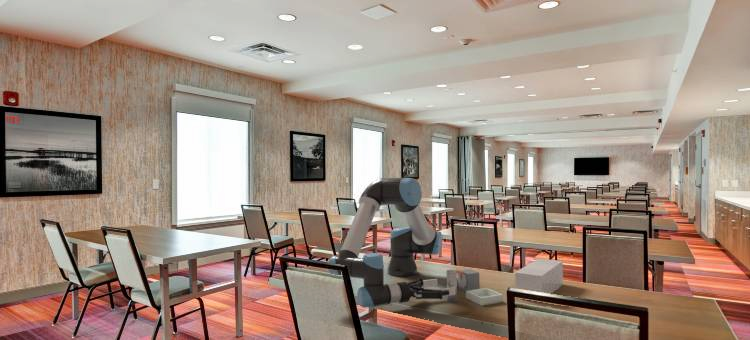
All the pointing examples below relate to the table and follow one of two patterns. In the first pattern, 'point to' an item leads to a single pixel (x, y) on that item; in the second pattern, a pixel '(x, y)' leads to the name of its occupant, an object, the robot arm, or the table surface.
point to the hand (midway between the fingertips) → (445, 286)
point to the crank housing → (468, 280)
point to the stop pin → (452, 284)
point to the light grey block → (540, 276)
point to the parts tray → (484, 296)
